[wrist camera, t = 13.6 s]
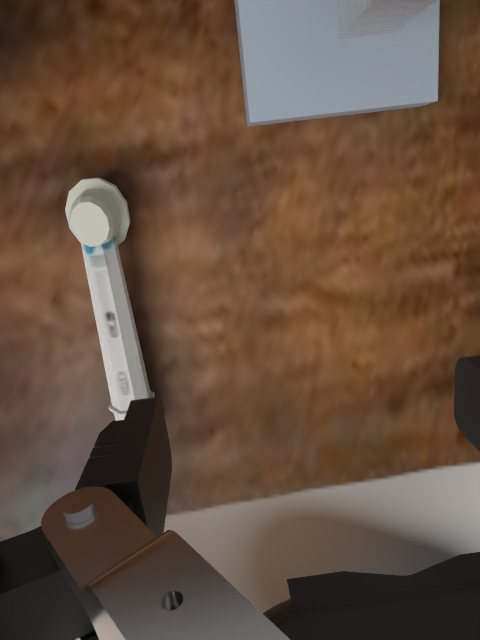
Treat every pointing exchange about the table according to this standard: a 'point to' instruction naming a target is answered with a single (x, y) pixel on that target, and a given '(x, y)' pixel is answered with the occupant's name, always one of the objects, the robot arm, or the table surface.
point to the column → (376, 16)
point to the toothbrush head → (109, 287)
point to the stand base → (330, 62)
